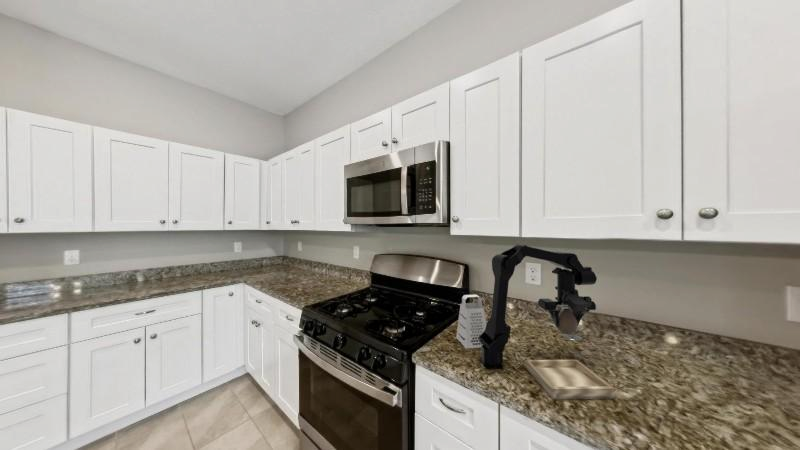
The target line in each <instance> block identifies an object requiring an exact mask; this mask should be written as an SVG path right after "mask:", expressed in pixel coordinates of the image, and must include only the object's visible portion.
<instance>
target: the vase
mask: <svg viewBox="0 0 800 450" xmlns="http://www.w3.org/2000/svg"><path fill="white" fill-rule="evenodd" d="M558 318H559V325H558V327H556V328H557V330H558V331H559V332H560V333H562V334H568V335H572V334H574V335H575V333H576V332H577V330H578V326H579V325H578V323H577V320H576V318H575V316H574V315H573V314H572V312H571V310H570V309H563V310H562V309H561V311H560V313H559V314H558Z"/></svg>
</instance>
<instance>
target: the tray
mask: <svg viewBox="0 0 800 450" xmlns="http://www.w3.org/2000/svg"><path fill="white" fill-rule="evenodd" d="M525 369H526V371H527V372H528V373H529V374H530V376H532V377H533V378H534V380H535V381H536V382H537V384H538V385H539V386H540V387H541V388H542V389H543V390H544V391H545V393H547V395H548V396H549V397H550V398H551V399H552V400H615V399H616V393H615V392H616V388H614V387H613V386H612V385H611V384H610V383H608V382H607V381H606V380H604V379H603V378H602V377H600V376H599V375H598V374H596V373H595V372H594V371H593V370H591V369H590V368H589V367H588V366H586V365H585V364H583V363H582V362H581V361H579V360H578V359H525Z"/></svg>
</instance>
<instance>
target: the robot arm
mask: <svg viewBox="0 0 800 450" xmlns="http://www.w3.org/2000/svg"><path fill="white" fill-rule="evenodd" d="M526 257H528V258H533V259H538V260H542V261H546V262H549V263H550V264H553V265H555V266H557V267H555V268H554V269H553V270H552V271H551V273H552V274H555V275H556V277H557V278H556V279H557V280H556V282H557V283H556V284H557V285H556V286H554V288H555V290H556V291H557V296H555V301H554V300H553V299H551V298H539V299H538V301H537V305H538V306H539V307H540V308H542V309H544V310H545V311H548V313H549V315H550V316H551V320H552V322H553V324H554V325H555V327H556V328H557V327H558V325H559V318H558V314H559V313H560V312H561V310H559V309H558V308H559V307H561V308H562V307H570V308H571V310H572V311H573V315H574V316H575V318H576V320H577V323H578V326H579V324H580V322H581V320H582V318H583V316H584V315H585V314H587V313H589V312H590V311H595V310H597V305H596V303H595V302H594V301H593V299H592V298H591V297H590V296H588V295H587V296H586V295H585V296H580V295H579V290H578V289H576V286H590V285H591V286H592V285H595V284H596V282H597V280H598V279H597V276H596V274H595V272H594V271H593V270H592V269H593V268H592V267H591V266H584V265H583V264H582V263H581V262H580V260H579V258H578V256H577V254H575V253H571V252H565V251H549V250H546V249H545V250H544V249H541V248H535V247H532V246H529V245H526V244H519V243H518V244H515V245H514V246H513V247H511V248H509V249H507V250H504V251H503V252H501V253H500V254H495V255H494V256H493V257H492V259H491V268H492V269H491V270H492V273H493V276H494V284H493V292H492V293H493V296H492V303H491V304H492V305H491V313H490V314H491V316H490V317H489V319H488V321H486V328H485V331H484V332H483V333H482V334H481V335H480V336H479V337H478V339H479V342H481V345H482V344H483V345H482V347H481V357H480V358H479V359H480V360H479V361H480V362H481V363H482V365H483V367H484V368H485V370H486V369H487V370H488V369H491V370H492V369H494V370H495V369H497V370H498V369H500V370H501V369H504V368H505V367H504V365H503V364H504V352H505V351H504V350H505V348H506V346H507V345H506V344H508V342H509V339H511V335H510V334H511V329H512V328H511V325H509V324H507V322H506V314H507V313H506V312H507V303H508V294H509V293H508V291H509V281H510V280H511V278H512V277H513V275H514V273H515V269H516V267H517V266H518V265H519V264H521V263H522V261H523V260H524V258H526Z"/></svg>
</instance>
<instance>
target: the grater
mask: <svg viewBox="0 0 800 450" xmlns="http://www.w3.org/2000/svg"><path fill="white" fill-rule="evenodd" d="M468 298H477V302H467V303H466V300H467V299H468ZM482 303H483V300H482V298H481V296H479V295H478V294H464V295H463V296H462V297H461V303H460V306H459V314H458V320H457V329H456V330H457V331H456V337H455V338H456V339H457V340H458V342H459V343H460V342H461V343H460V344H461V345H462V346H463V347H464V348H465V349H466V350H467V349H476V348H478V349H479V348H482V345H483V344H482V343H481V342H480V340H479V336H480V335H481V334H482V333H483V332H484V331H485V328H486V325H487V320H486V314H485V313H486V312H485V308H484V306H483V304H482Z"/></svg>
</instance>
